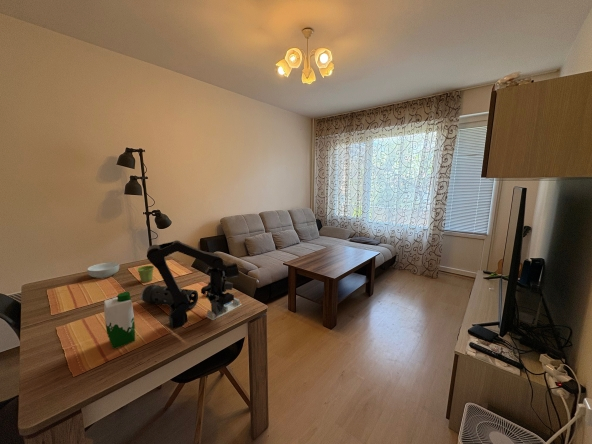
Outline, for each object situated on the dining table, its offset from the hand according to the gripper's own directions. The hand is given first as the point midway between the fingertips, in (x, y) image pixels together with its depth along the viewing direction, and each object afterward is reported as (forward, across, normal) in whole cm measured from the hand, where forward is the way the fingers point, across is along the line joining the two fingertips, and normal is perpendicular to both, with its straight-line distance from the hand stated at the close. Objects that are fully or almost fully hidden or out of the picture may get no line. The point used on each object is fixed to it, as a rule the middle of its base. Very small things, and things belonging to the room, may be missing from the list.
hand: (217, 309), depth 114 cm
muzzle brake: (+3, +27, +10) cm, 29 cm away
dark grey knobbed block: (+1, 0, 0) cm, 1 cm away
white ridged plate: (+3, 0, -4) cm, 5 cm away
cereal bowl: (+3, +100, +18) cm, 102 cm away
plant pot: (+3, +70, +4) cm, 70 cm away
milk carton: (+3, +15, +35) cm, 38 cm away
